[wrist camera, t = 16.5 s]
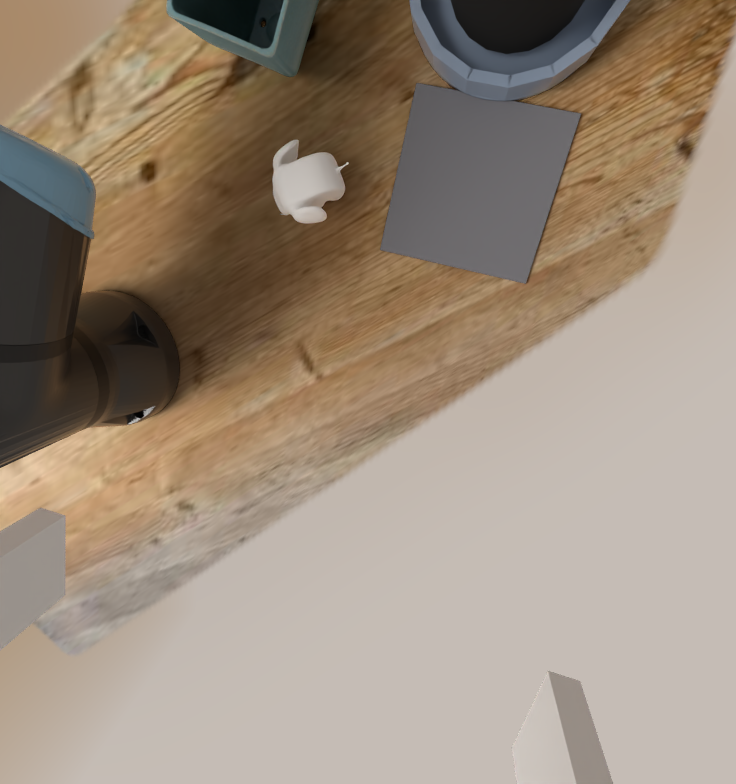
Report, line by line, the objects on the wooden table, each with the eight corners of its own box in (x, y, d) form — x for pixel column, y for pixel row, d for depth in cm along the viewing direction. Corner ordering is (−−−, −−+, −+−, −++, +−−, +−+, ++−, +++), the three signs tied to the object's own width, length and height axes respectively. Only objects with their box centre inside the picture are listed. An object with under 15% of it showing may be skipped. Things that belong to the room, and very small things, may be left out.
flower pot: (345, -9, 36) (313, -93, 28) (310, 104, 39) (272, 58, 31) (252, -46, 37) (193, -140, 28) (224, 68, 40) (163, 14, 31)
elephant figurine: (268, 173, 42) (240, 158, 36) (343, 134, 39) (326, 112, 34) (296, 242, 43) (273, 237, 37) (370, 208, 41) (358, 198, 35)
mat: (380, 249, 42) (380, 249, 41) (416, 83, 37) (416, 82, 37) (525, 283, 40) (525, 283, 40) (580, 114, 36) (580, 113, 36)
